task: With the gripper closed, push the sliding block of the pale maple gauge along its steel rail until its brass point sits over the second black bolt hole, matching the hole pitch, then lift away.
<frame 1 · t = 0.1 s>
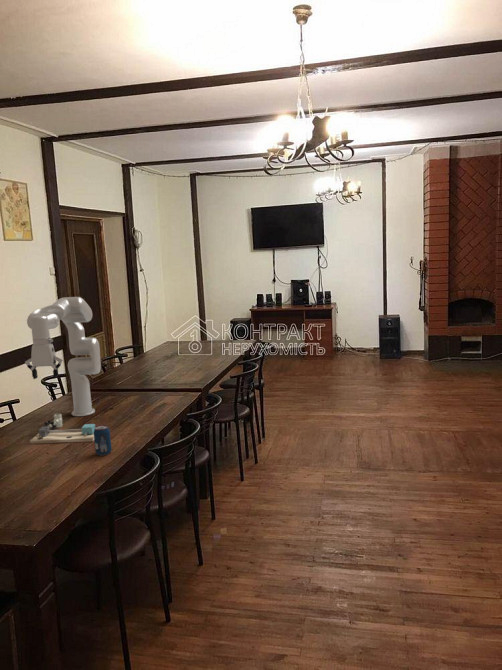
hand: (45, 377, 251), 31 cm above the table, tool pointing down, fingers open, 9 cm apart
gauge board: (65, 438, 260), on the table
sliding block: (87, 430, 259), point 4 cm above the table, slide at 0.0 cm
valve: (55, 429, 275), on the table
soda can: (103, 453, 238), on the table
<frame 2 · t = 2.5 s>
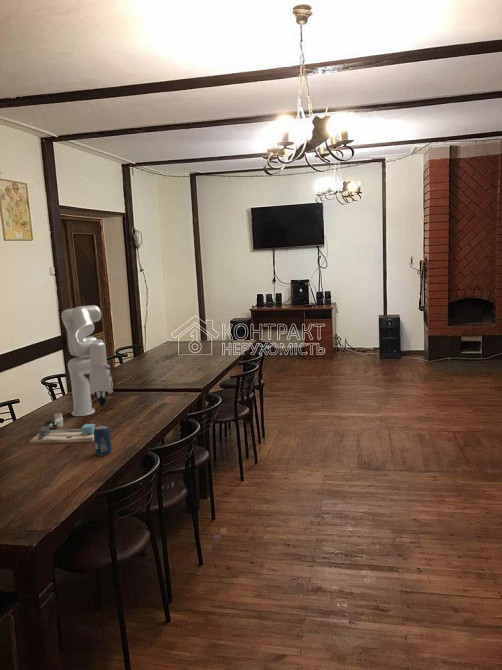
hand: (102, 405, 258), 15 cm above the table, tool pointing down, fingers closed
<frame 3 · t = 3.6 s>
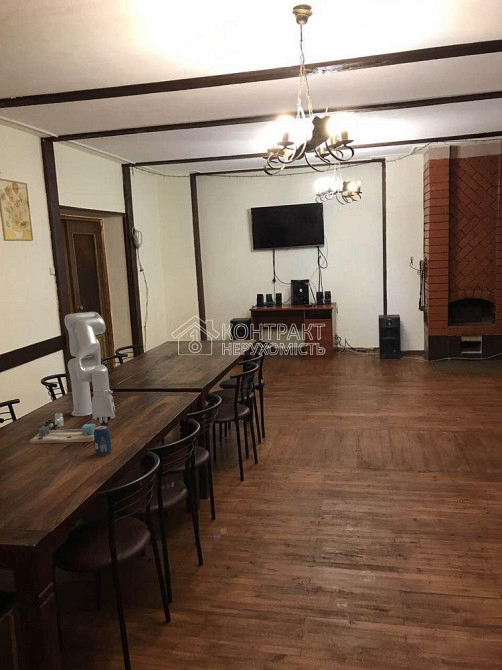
hand: (105, 430, 260), 3 cm above the table, tool pointing down, fingers closed
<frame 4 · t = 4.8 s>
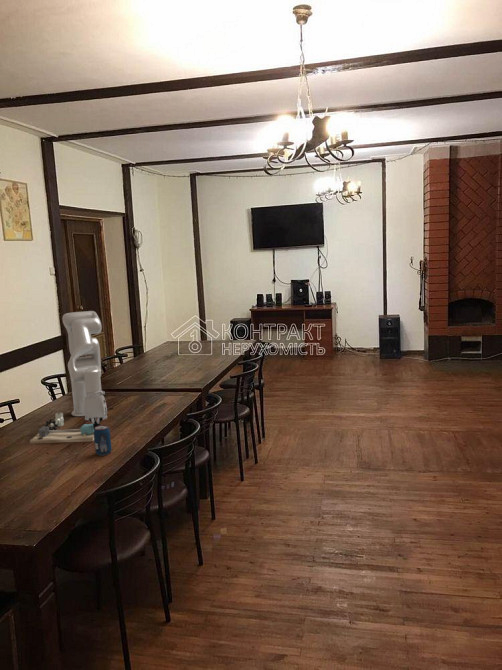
hand: (97, 430, 261), 3 cm above the table, tool pointing down, fingers closed
sliding block: (86, 430, 259), point 4 cm above the table, slide at 0.5 cm, touching gripper
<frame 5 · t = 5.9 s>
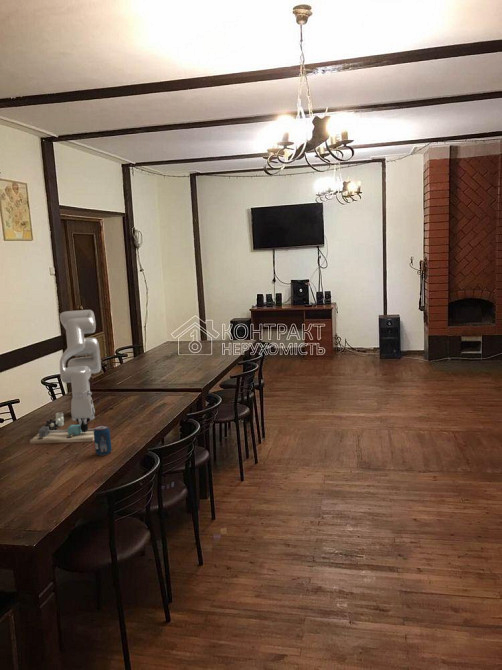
hand: (84, 431, 261), 3 cm above the table, tool pointing down, fingers closed
sliding block: (73, 430, 259), point 4 cm above the table, slide at 6.8 cm, touching gripper
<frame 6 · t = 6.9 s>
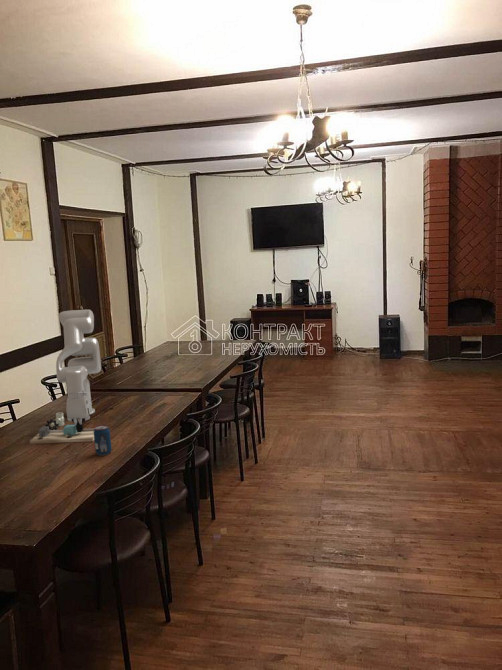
hand: (80, 431, 261), 3 cm above the table, tool pointing down, fingers closed
sliding block: (69, 430, 259), point 4 cm above the table, slide at 9.0 cm, touching gripper
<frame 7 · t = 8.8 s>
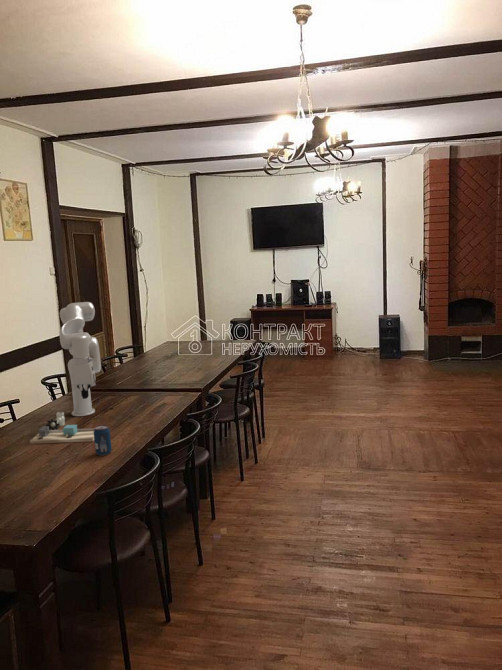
hand: (85, 397, 259), 19 cm above the table, tool pointing down, fingers closed
sliding block: (69, 430, 259), point 4 cm above the table, slide at 9.0 cm
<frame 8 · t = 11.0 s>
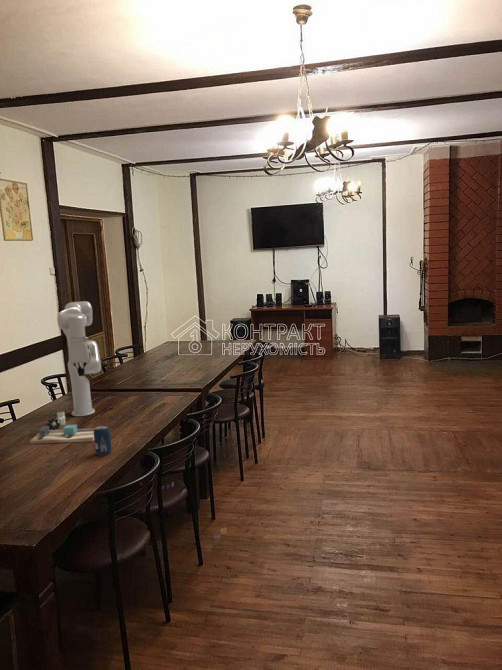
hand: (81, 375, 271), 27 cm above the table, tool pointing down, fingers closed
at the end: sliding block slide at 9.0 cm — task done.
